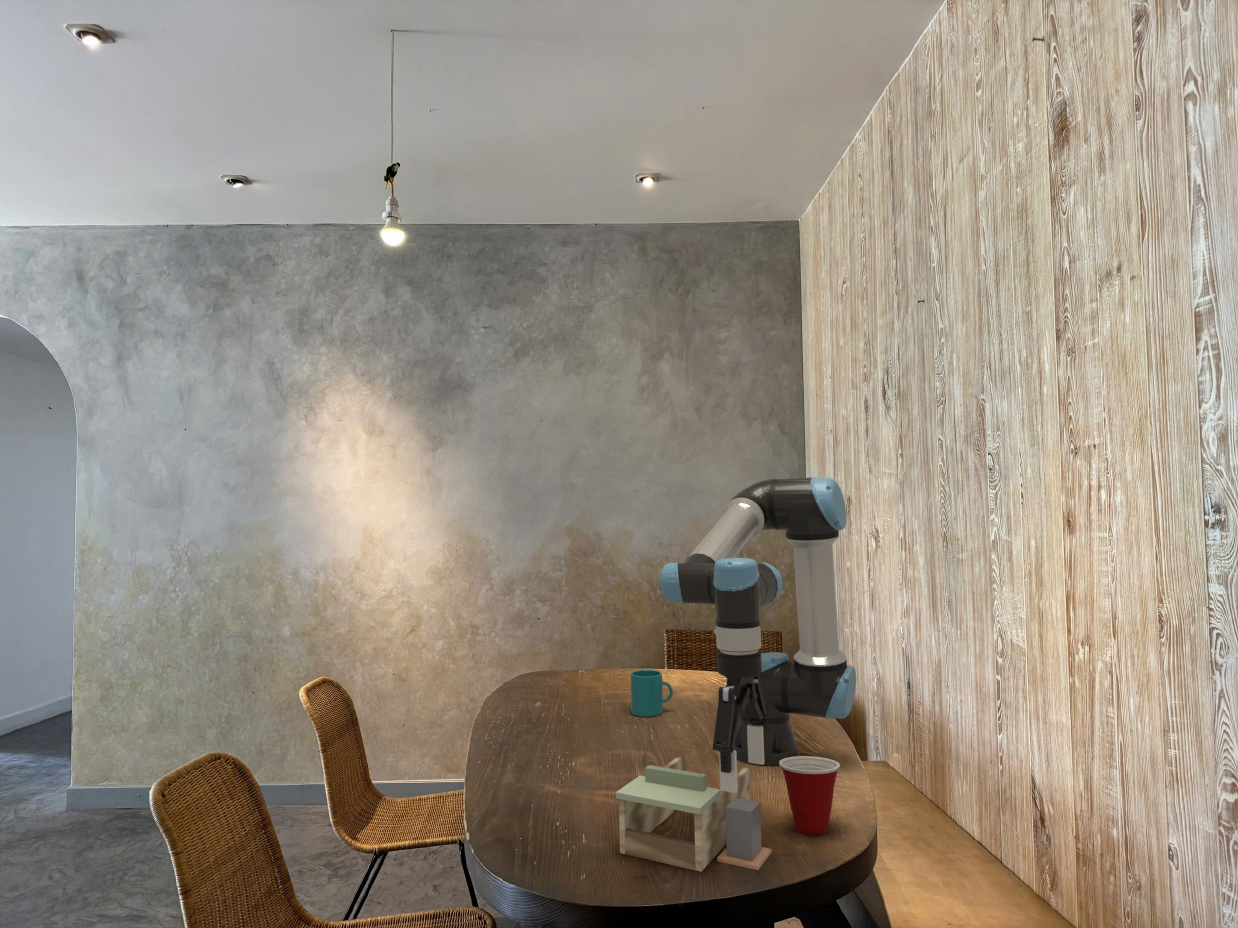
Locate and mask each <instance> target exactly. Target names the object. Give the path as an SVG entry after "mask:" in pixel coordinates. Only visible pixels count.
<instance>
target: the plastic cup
mask: <svg viewBox="0 0 1238 928" xmlns="http://www.w3.org/2000/svg"><path fill="white" fill-rule="evenodd" d="M778 766H779V767H781V770H782V774H783V776H784V780H785V784H786V789H787V794H788V801H789V804H790V805H789V806H790V809H791V812H792V813H791V814H792V817H793V824H794V826H795V830H796V831H797V832H799V833H801V834H803V835H808V836H822V835H825V834H826V833H828V831H829V830H828V829H829V825H830V818H831V817H830V816H831V813H832V806H833V801H834V800H833V797H834V791H835V784H836V778H837V773H838V771H839V769H840V766H841V764H840V763H839V762H838V761H836V760H834V759H830V758H827V757H821V756H820V757H819V756H809V755H808V756H807V755H806V756H805V755H800V756H797V757H789V758H784V759H782V760H780V762H779V765H778Z"/></svg>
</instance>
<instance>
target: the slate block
mask: <svg viewBox="0 0 1238 928" xmlns="http://www.w3.org/2000/svg"><path fill="white" fill-rule="evenodd" d="M761 813H762V812H761V802H760V801H755V800H751V799H750V800H746V799H740V798H734V799H733V800H732V801H731V802H730V803H729V804H728V805H727V806H726V842H727V844H726V847H727V856H730V857H734V858H739V859H743V860H748V861H753V860H754V859H755V858H756V857H757V856H758V854H759V853H760V852H761V851H762V847H763V846H762V820H761V819H762V818H761V817H762V815H761Z"/></svg>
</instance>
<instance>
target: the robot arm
mask: <svg viewBox="0 0 1238 928" xmlns="http://www.w3.org/2000/svg"><path fill="white" fill-rule="evenodd" d="M846 526H847V508H846V503H845V498H844V494H843V491H842V489H841V487H840V485H839V484H838V482H837V481H836V480H834V479H833V478H830V477H817V476H812V477H795V478H770V479H765V480H761V481H758V482H756V483H753V484H751V485H748V486H747V487H746V488H744V489H743V490H741V491H739V492H738V493H736V494H735V495H734V496H733V497H732V498H731V499H730V500H729V501H728V502H727V503H726V505H725V506H724V508H723V511H722V516H721V517H720V519H719V520H718V521H717V522H716V523H715V525H714V526H713V527H712V528H711V530H709V532H708V533H707V534H706V535H705V536H704V537H703V539H702V540H701V541H700V542H699V543H698V544H697V546H696V547H695V548H694V549H693V550H692V551H691V553H690V554H689V556H687V558H686V559H684V561H683V562H679V561H676V562H669V563H666V564H665V565H663V567H662V569H661V570H660V571H661V572H660V575H659V587H660V592H661V596H662V597H663V598H664V599H665V600H666V601H667V602H673V603H681V604H682V605H683V604H699V605H702V604H703V605H714V610H715V628H714V630H713V634H714V635H716V648H717V649H718V651H717V652H716V670H717V671H716V672H717V673H718V674H719V675H721V676H724V678H726V684H725V686H719V687H718V702H717V710H716V717H715V718H716V719H715V725H714V735H713V741H712V750H713V751H717V752H718V759H719V760H718V763H719V765H718V766H719V789H720V790H721V791H727V792H732V793H737V792H738V784H737V774H738V762H737V760H738V761H741V762H744V763H747V764H752V765H759V766H780V765H779V762H780V760H782V759H784V758H789V757H797V756H799V745H798V743H797V739H796V737H795V733H794V731H793V727H792V724H791V720H790V719H791V717H790V714H794V715H804V716H811V717H818V718H819V717H820V718H825V719H827V720H828V719H841V720H842V719H845V718H847V716H848V715H850V712H851V710H852V708H853V703H854V699H855V693H856V686H857V684H856V683H857V672H856V668H855V666H853V665H851V664H849V665H848V663H847V662H848V660H847V655H846V654H845V653H844V652H843V651H842V650H841V649H840V646H839V632H838V631H839V629H838V612H837V598H836V596H837V595H836V582H835V581H836V580H835V567H834V566H835V564H834V549H833V547H834V546H833V545H834V543H835V542H836V541H837V540H838V539H839V538H840V531H842V530H844V529H845V528H846ZM769 530H770V531H772V530H777V531H784V532H785V540H786V541H788V543H790V545H792V547H793V548H792V549H793V559H794V564H793V565H794V577H795V591H796V592H795V593H796V595H795V596H796V609H797V623H798V638H799V650H798V651H797V652H796V653H795V654H794V655H793V661H792V660H791V661H790V660H789V659H790V658H789V656H788V654H787V653H785V652H781V651H780V652H777V651H775V652H765V653H764V652H760V649H761V648H762V636H761V634H762V633H761V631H762V630H761V620H760V619H761V617H760V615H761V614H760V610H761V608H760V607H762V606H767V605H769V604H770V603H772V602H773V601H774V600H775V599H776V598H777V597H779V596H780V594H781V591H782V589H783V579H782V576H781V573H780V572H779V570H778V569H777V568H776V567H775V566H773V565H772V564H770V563H766V562H757V561H756V560H755V559H753V558H748V557H737V556H738V555H739V553H740V552H741V551H742V550H743V548H744V547H745V545H746V544H747V543H748V541H749V540H750V539H751V538H753V537H755V536H757V535H759V534H760V533H761V532H762V531H769Z"/></svg>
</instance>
